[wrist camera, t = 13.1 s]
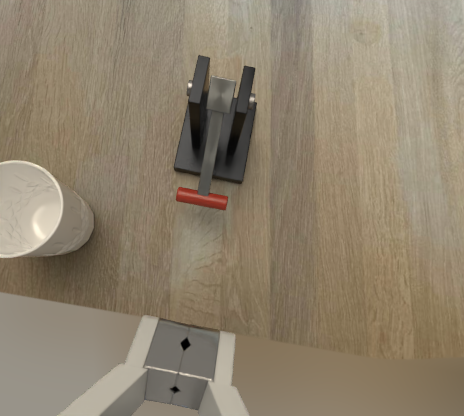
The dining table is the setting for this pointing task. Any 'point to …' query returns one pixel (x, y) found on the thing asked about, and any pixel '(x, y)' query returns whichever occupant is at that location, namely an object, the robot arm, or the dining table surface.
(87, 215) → the white cup
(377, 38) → the dining table surface
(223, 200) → the power lever
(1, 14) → the dining table surface
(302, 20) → the dining table surface
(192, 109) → the switch bracket
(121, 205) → the dining table surface
